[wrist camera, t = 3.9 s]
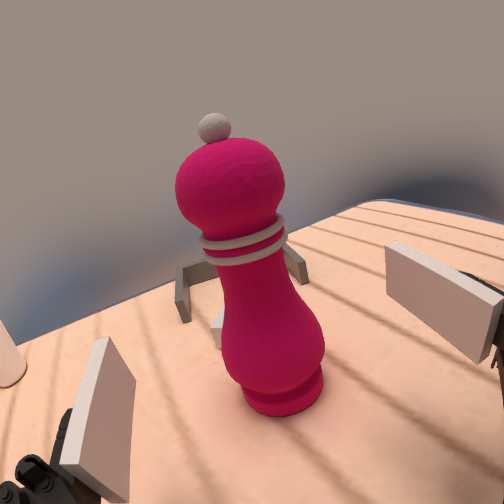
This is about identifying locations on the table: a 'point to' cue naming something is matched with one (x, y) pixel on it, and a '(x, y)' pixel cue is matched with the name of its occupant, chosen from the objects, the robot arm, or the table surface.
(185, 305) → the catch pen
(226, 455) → the table surface
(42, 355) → the table surface
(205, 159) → the pepper mill
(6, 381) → the can
